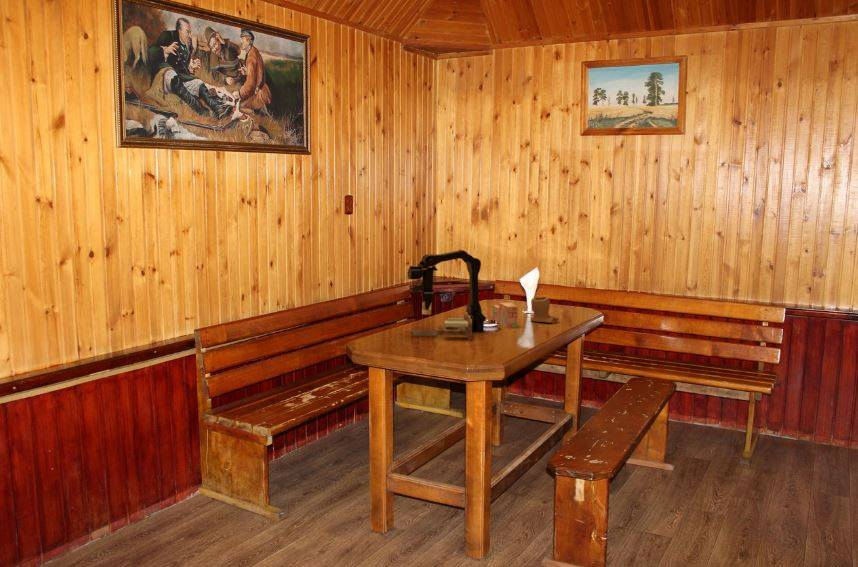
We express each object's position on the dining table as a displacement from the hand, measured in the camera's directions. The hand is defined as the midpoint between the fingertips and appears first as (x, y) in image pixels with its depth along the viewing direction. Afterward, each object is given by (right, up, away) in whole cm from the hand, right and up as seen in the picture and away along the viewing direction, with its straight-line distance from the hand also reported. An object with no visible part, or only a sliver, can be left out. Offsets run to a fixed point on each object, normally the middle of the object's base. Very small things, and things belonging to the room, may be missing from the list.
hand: (426, 309), depth 381 cm
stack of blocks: (+44, -10, +34) cm, 56 cm away
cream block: (0, -2, 0) cm, 2 cm away
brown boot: (+67, -9, +42) cm, 79 cm away
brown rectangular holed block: (+14, -14, +1) cm, 20 cm away
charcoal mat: (-1, -13, +2) cm, 14 cm away
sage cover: (+15, -8, -9) cm, 19 cm away
